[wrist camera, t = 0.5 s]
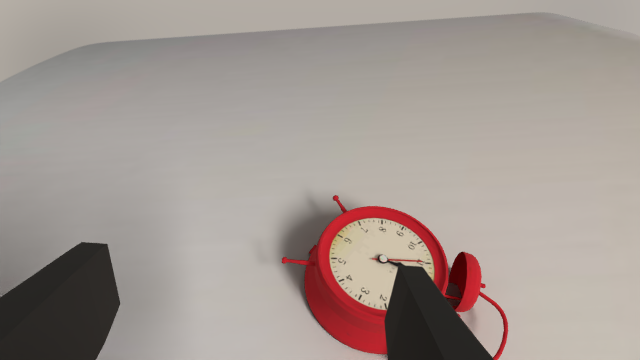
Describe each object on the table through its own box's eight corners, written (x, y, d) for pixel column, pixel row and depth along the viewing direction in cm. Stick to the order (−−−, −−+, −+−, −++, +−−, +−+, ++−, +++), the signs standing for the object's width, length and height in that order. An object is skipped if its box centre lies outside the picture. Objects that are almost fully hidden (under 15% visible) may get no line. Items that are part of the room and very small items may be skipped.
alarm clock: (339, 176, 34) (539, 237, 27) (345, 228, 38) (519, 293, 31) (262, 268, 27) (498, 380, 20) (279, 319, 31) (480, 427, 24)
